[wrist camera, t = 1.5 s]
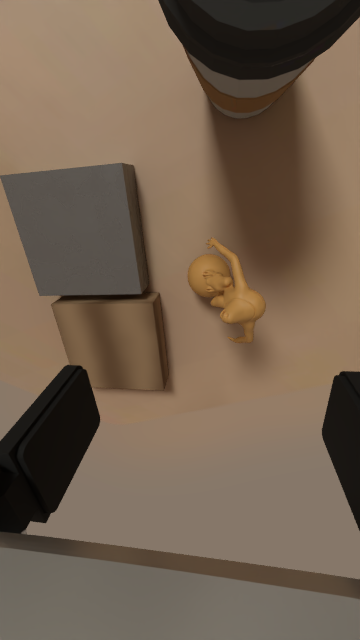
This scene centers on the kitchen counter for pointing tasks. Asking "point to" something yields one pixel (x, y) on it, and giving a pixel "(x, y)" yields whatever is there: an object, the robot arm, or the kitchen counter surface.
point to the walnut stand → (115, 339)
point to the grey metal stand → (80, 229)
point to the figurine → (227, 289)
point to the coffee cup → (255, 45)
